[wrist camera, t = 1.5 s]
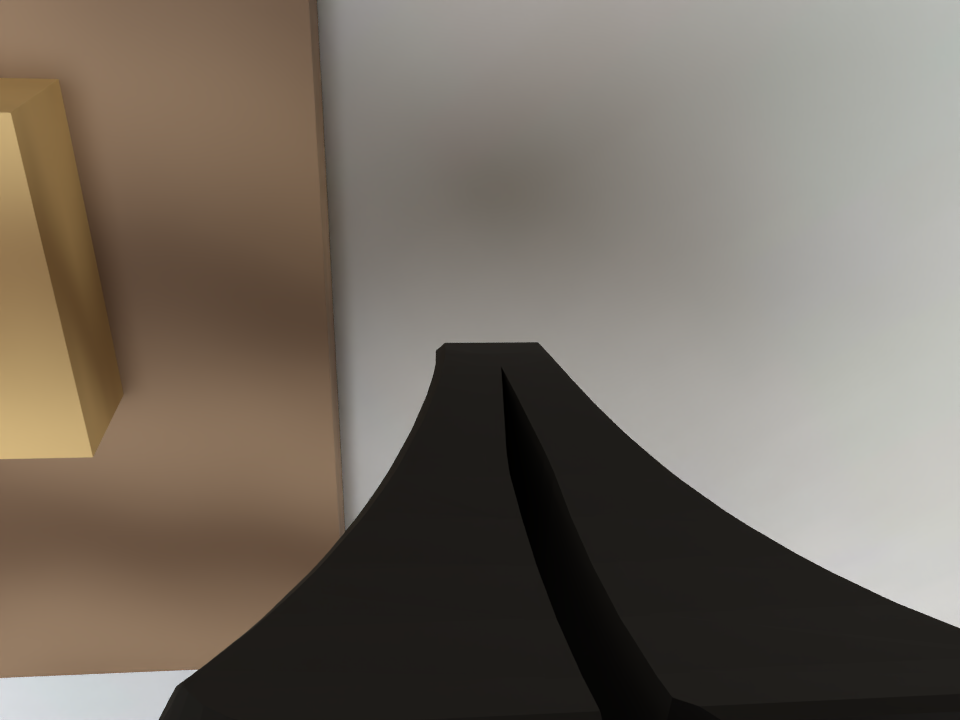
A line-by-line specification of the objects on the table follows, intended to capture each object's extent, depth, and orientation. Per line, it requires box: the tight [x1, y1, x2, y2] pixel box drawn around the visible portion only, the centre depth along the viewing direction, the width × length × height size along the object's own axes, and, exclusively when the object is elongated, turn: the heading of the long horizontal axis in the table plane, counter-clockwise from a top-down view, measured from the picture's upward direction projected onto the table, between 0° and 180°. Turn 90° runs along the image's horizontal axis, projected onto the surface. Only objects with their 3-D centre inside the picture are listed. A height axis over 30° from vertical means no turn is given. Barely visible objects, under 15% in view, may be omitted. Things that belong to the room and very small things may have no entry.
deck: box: [0, 0, 345, 678], centre depth 16 cm, size 20×10×2 cm, turn 178°
